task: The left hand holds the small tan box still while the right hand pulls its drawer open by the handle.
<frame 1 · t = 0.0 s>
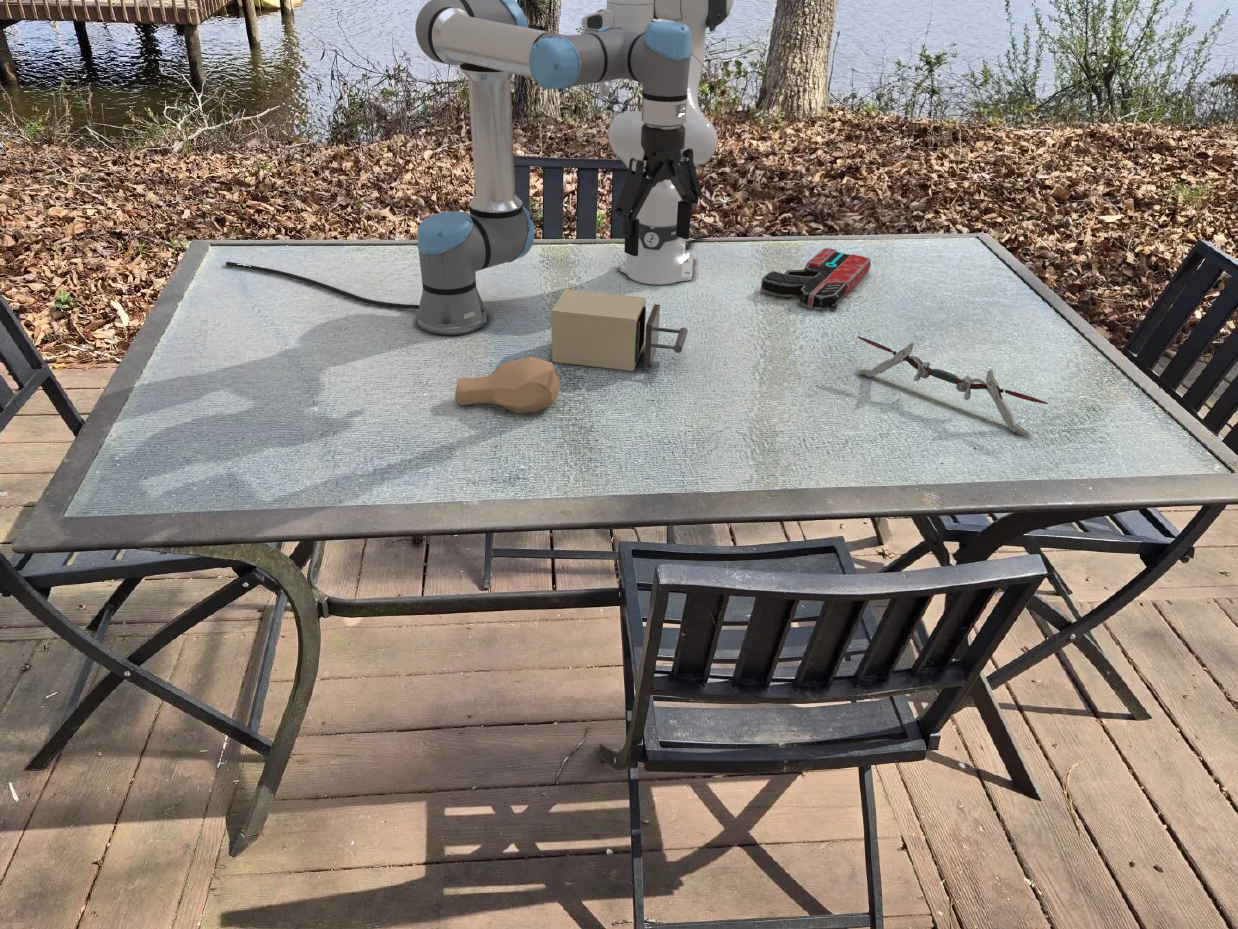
left hand: (657, 245, 161), 28 cm above the table, tool pointing down, fingers open, 13 cm apart
right hand: (627, 97, 172), 48 cm above the table, tool pointing down, fingers open, 8 cm apart
drawer: (632, 333, 181), point 6 cm above the table, slide at 2.0 cm
bow: (937, 402, 172), on the table
squash: (508, 405, 167), on the table
gun: (817, 285, 220), on the table
tan box: (598, 354, 185), on the table
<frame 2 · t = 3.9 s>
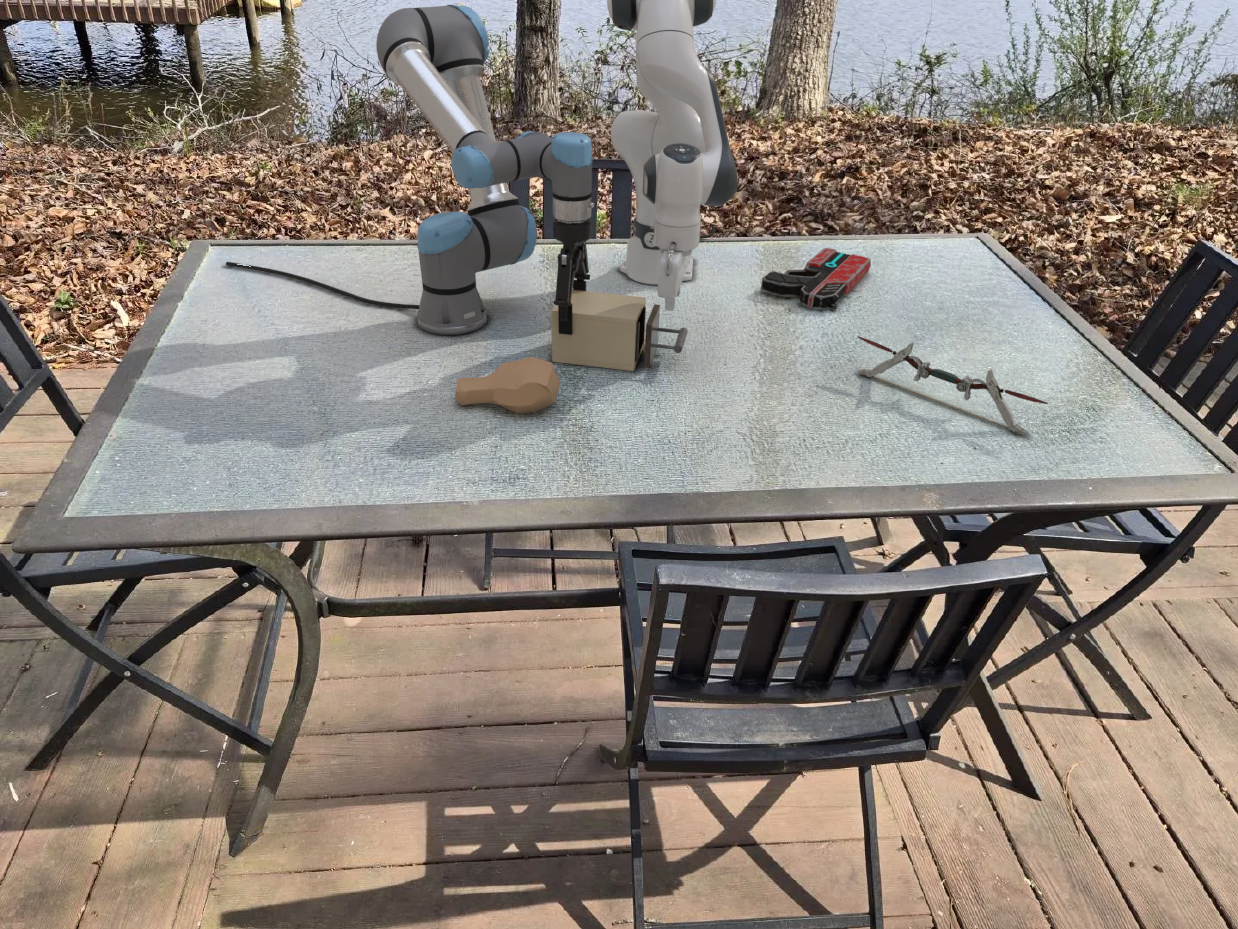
left hand: (572, 321, 182), 7 cm above the table, tool pointing down, fingers closed on tan box, 11 cm apart
right hand: (672, 302, 176), 13 cm above the table, tool pointing down, fingers open, 6 cm apart
tan box: (598, 354, 185), on the table, touching left hand
everything else where it was.
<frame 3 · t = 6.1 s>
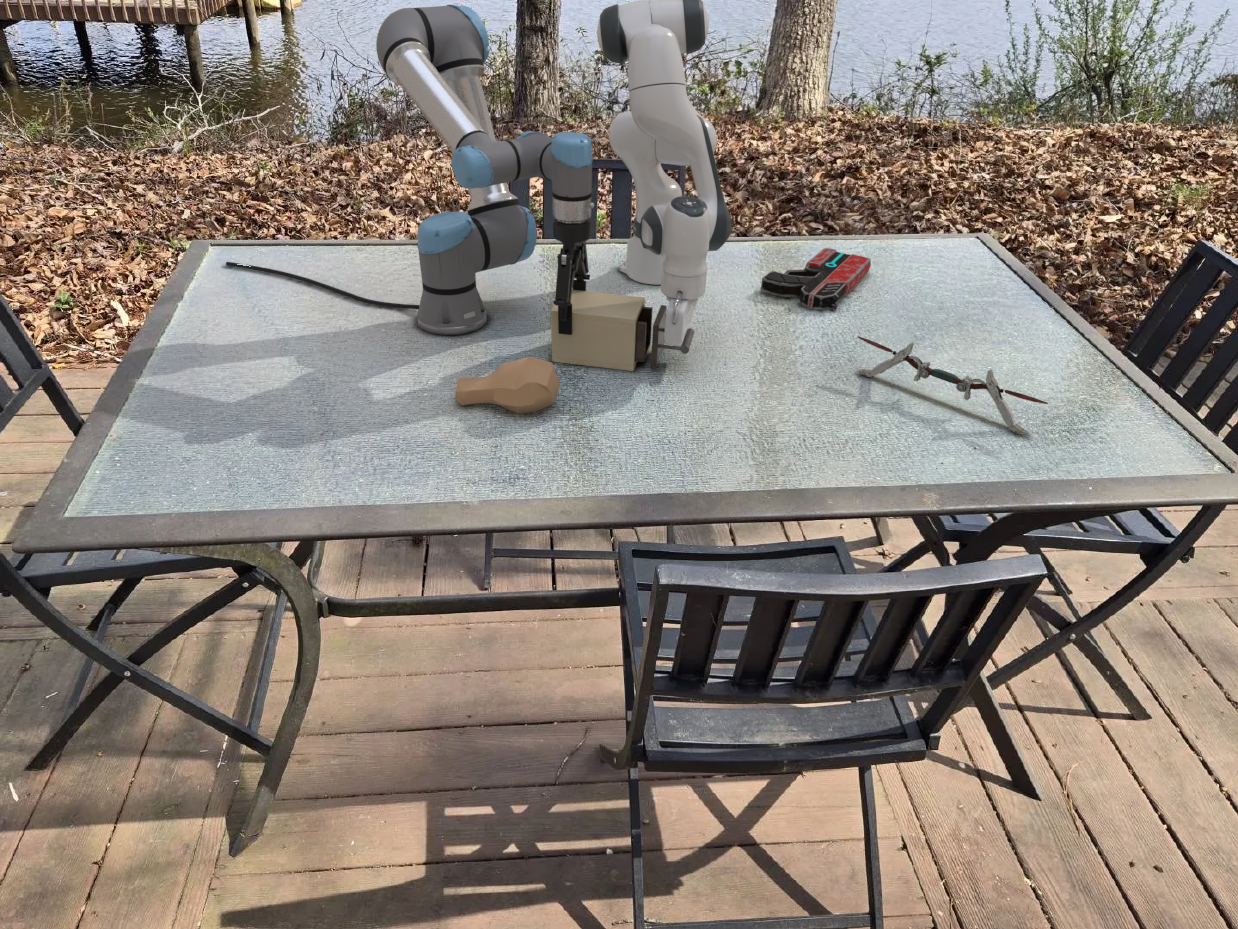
left hand: (572, 321, 182), 7 cm above the table, tool pointing down, fingers closed on tan box, 11 cm apart
right hand: (678, 346, 181), 4 cm above the table, tool pointing down, fingers closed, pressing on drawer
drawer: (638, 333, 181), point 6 cm above the table, slide at 3.5 cm, touching right hand
tan box: (598, 354, 185), on the table, touching left hand
everything else where it was.
when the left hand's fingers open (7 cm above the table, at t = 8.6 s): tan box stays where it is, on the table.
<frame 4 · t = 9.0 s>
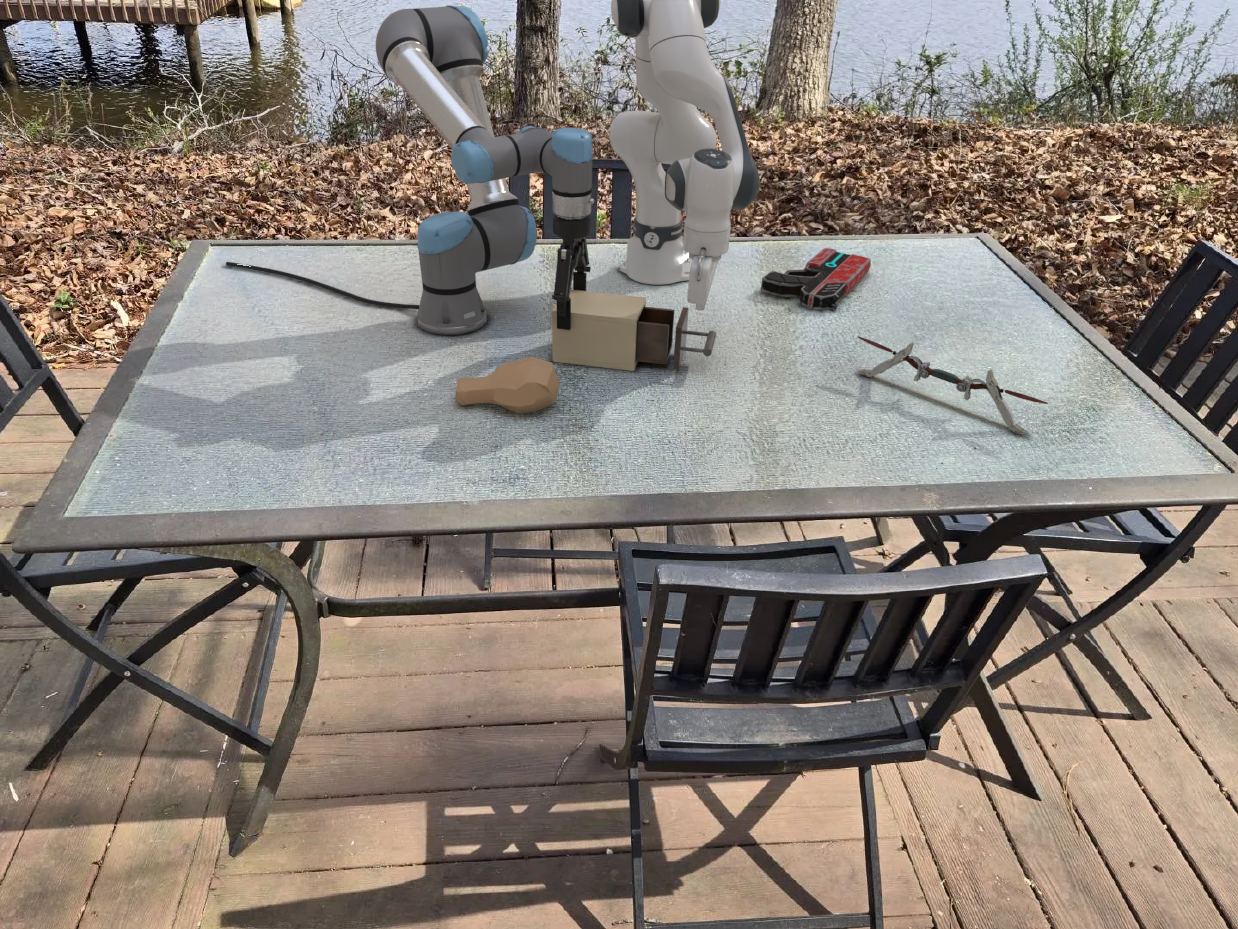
left hand: (571, 315, 182), 8 cm above the table, tool pointing down, fingers open, 13 cm apart
right hand: (700, 307, 175), 13 cm above the table, tool pointing down, fingers closed
drawer: (660, 336, 180), point 6 cm above the table, slide at 7.9 cm
tan box: (599, 354, 185), on the table
everything else where it was.
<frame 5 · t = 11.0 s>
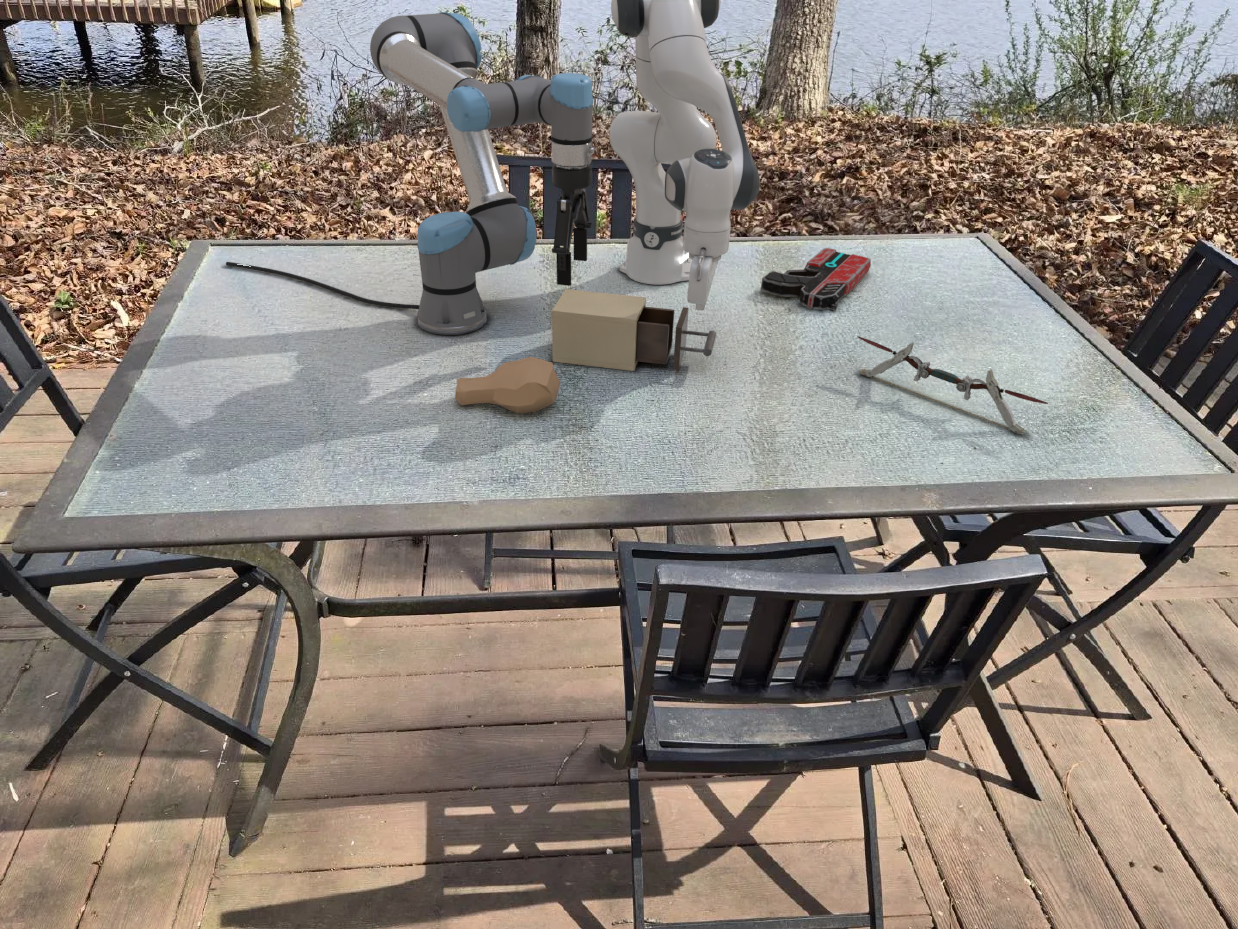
left hand: (572, 272, 176), 18 cm above the table, tool pointing down, fingers open, 13 cm apart
right hand: (700, 307, 175), 13 cm above the table, tool pointing down, fingers closed
nothing on the table moved.
at the end: drawer slide at 7.9 cm; tan box tilted 0°; tan box never tilted more than 1° during the clip; tan box moved 0.1 cm from its start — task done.
